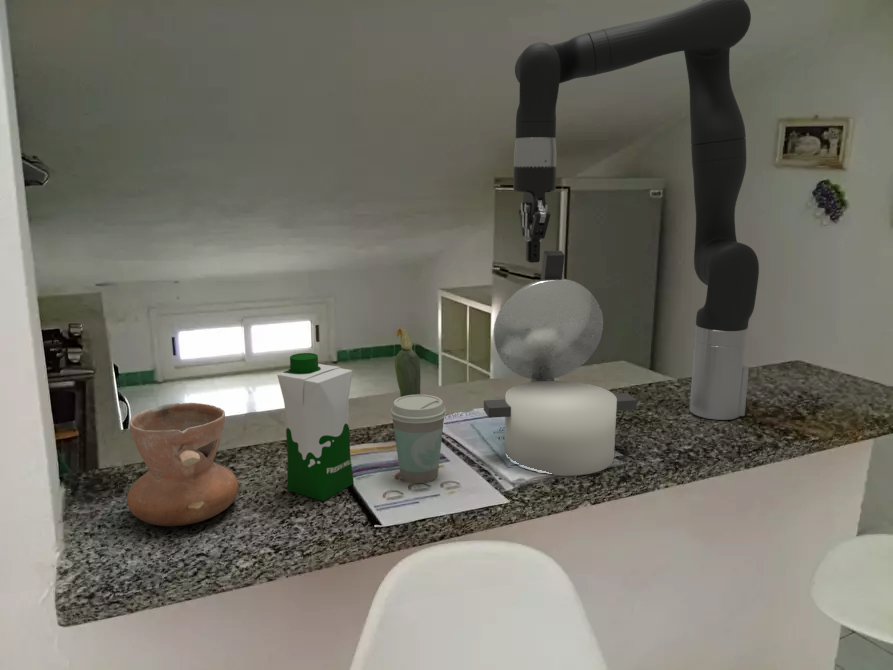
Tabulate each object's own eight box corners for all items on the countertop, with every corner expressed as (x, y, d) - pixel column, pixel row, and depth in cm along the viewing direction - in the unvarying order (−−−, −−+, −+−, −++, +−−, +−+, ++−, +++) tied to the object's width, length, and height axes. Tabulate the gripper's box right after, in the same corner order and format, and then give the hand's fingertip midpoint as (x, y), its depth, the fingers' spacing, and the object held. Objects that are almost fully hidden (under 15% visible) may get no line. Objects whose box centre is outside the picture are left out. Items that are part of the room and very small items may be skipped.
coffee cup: (405, 491, 106) (403, 414, 104) (383, 470, 114) (381, 398, 111) (456, 480, 110) (456, 405, 107) (431, 460, 117) (430, 390, 115)
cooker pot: (609, 430, 131) (612, 377, 128) (651, 470, 113) (655, 409, 111) (475, 438, 127) (475, 384, 125) (497, 480, 110) (498, 418, 107)
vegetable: (422, 434, 129) (421, 325, 125) (419, 443, 125) (418, 330, 120) (398, 433, 130) (396, 325, 125) (394, 442, 125) (391, 330, 121)
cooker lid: (594, 388, 129) (588, 378, 132) (614, 257, 118) (607, 249, 121) (490, 393, 127) (487, 382, 130) (500, 260, 115) (496, 252, 118)
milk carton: (318, 470, 114) (312, 348, 109) (363, 483, 109) (359, 355, 105) (278, 491, 106) (270, 360, 102) (324, 506, 102) (318, 369, 97)
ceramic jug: (253, 525, 96) (247, 424, 93) (136, 551, 89) (125, 442, 87) (224, 478, 112) (218, 390, 109) (122, 498, 105) (113, 404, 102)
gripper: (566, 164, 122) (563, 266, 126) (544, 165, 135) (542, 257, 139) (523, 164, 121) (521, 267, 125) (505, 165, 134) (504, 258, 138)
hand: (532, 261), depth 132 cm, fingers closed
